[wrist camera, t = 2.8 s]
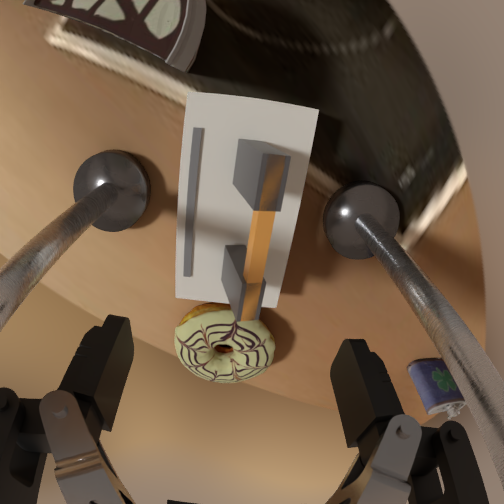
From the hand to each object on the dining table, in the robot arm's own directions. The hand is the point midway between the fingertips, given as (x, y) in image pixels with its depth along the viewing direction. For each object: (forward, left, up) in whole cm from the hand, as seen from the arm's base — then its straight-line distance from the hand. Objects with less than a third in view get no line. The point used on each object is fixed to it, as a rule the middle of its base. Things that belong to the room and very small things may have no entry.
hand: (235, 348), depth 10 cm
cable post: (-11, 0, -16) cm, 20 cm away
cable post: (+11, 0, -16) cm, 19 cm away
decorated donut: (0, -15, -17) cm, 23 cm away
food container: (-8, +15, -16) cm, 24 cm away
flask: (+32, -21, -16) cm, 42 cm away
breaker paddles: (0, 0, -13) cm, 13 cm away
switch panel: (0, 0, -16) cm, 16 cm away
